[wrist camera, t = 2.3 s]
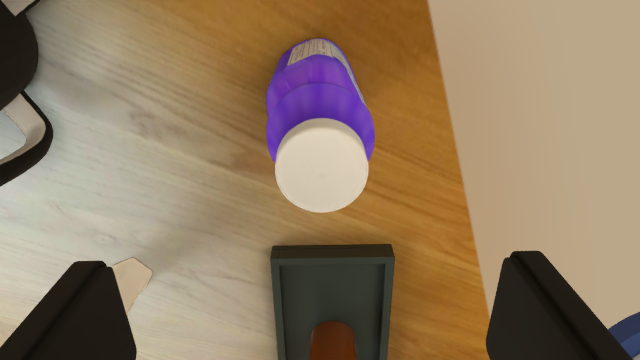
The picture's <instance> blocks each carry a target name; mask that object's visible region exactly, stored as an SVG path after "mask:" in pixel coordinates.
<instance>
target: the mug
mask: <svg viewBox="0 0 640 360" xmlns="http://www.w3.org/2000/svg"><path fill="white" fill-rule="evenodd" d="M39 1H40V0H0V111H1V110H2V109H3V110H4V111H5V112H6V114H7V115H8V116H9V117H10V118H11V119H12V120H13V121H14V122H15V123H16V124H17V125H18V127H19V128H20V129H21V130H22V132H23V133H24V134H25V136H26V142H25V144H24V146H22V147H21V148H20V149H18V150H17V151H15V152H14V153H12V154H10V155H9V156H7V157H5V158H3V159H1V160H0V186H2V185H4V184H6V183H7V182H9V181H11V180H13V179H14V178H16V177H18V176H19V175H21V174H23V173H24V172H25V171H27V170H28V169H30V168H31V167H33V166H34V165H35V164H37V163H38V162H39V161H40V160H41V159H42V158H43V157H44V156H45V155H46V153H47V152H48V150H49V148H50V145H51V142H52V139H53V128H52V125H51V123H50V121H49V120H48V118H47V117H46V116H45V115H44V113H43V112H42V111H41V110H40V108H39V107H38V106H37V105H36V104H35V103H34V102H33V101H32V99H31V98H30V97H29V96H28V95H27V94H26V93H25V92H24V89H25V88H26V87H27V85H28V84H29V83H30V81H31V80H32V78H33V76H34V74H35V71H36V67H37V63H38V47H37V41H36V38H35V34H34V31H33V28H32V26H31V24H30V23H29V21H28V19H27V17H26V15H25V13H26V12H27V11H28V10H29V9H31V8H32V7H33V6H34V5H36V4H37V3H38V2H39Z"/></svg>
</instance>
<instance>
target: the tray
mask: <svg viewBox="0 0 640 360" xmlns="http://www.w3.org/2000/svg"><path fill="white" fill-rule="evenodd" d="M394 261H395V256H394V253H393V249H392V246H391V244H379V245H315V246H273V247H272V252H271V258H270V262H271V274H272V286H273V299H274V311H275V323H276V336H277V348H278V360H309V337H310V334H311V332H312V330H313V329H314V328H315V327H316V326H318V325H319V324H321V323H324V322H329V321H337V322H341V323H344V324H346V325H348V326H349V327H350V328H351V329H352V330H353V331H354V333H355V338H356V347H357V356H358V360H387V351H388V338H389V325H390V312H391V299H392V286H393V274H394Z"/></svg>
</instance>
